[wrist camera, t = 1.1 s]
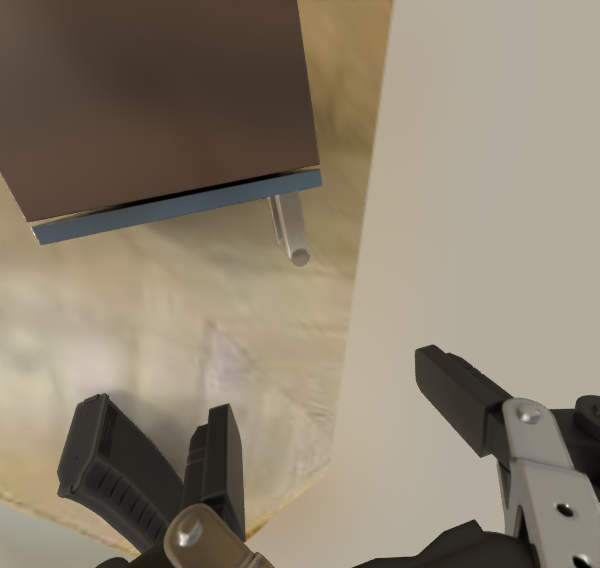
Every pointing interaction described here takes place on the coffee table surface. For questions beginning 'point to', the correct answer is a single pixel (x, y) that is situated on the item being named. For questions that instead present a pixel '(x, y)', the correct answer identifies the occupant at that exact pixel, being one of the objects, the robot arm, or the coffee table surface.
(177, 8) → the cupboard
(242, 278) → the coffee table surface
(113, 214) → the cupboard door
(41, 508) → the coffee table surface
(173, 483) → the magazine
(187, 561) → the robot arm
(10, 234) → the coffee table surface
